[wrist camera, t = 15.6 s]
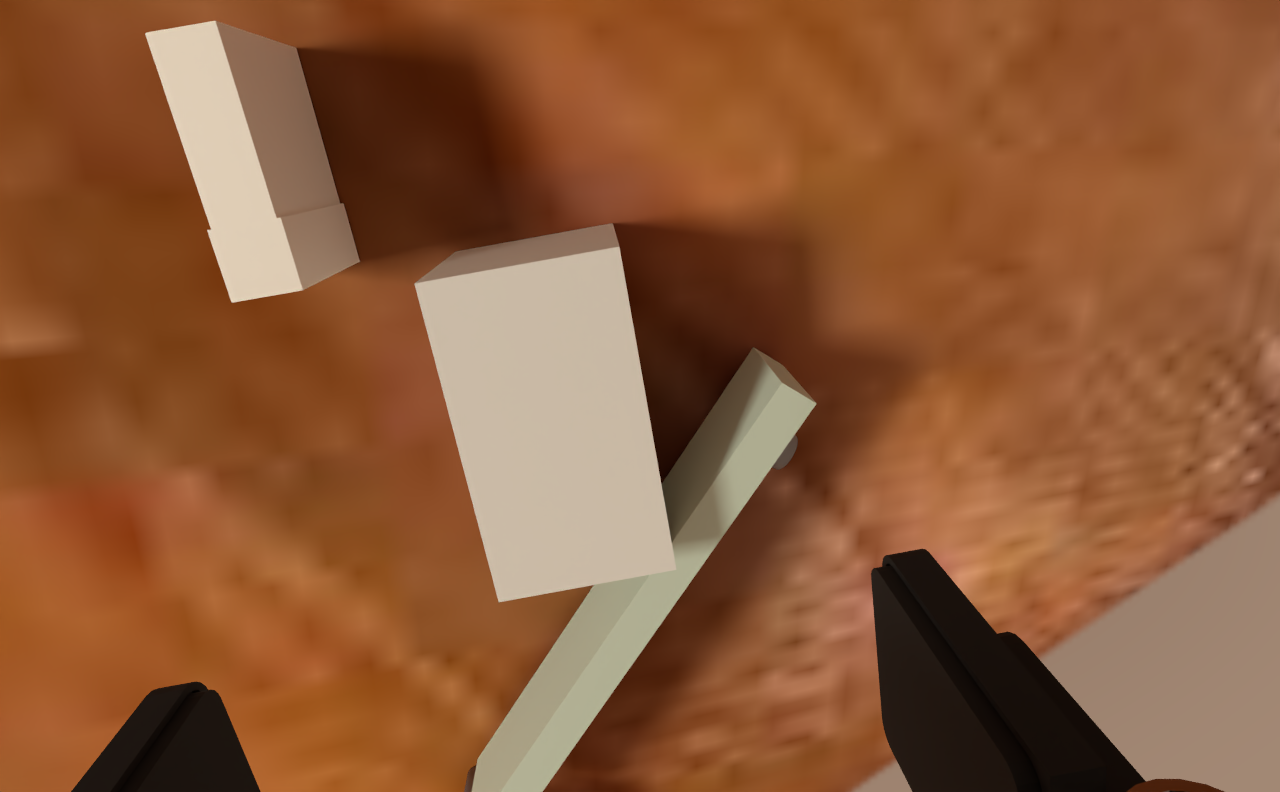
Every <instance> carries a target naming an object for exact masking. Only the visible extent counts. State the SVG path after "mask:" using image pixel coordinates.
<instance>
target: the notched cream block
mask: <svg viewBox="0 0 1280 792" xmlns="http://www.w3.org/2000/svg"><path fill="white" fill-rule="evenodd" d="M145 35H146V38H147V41H148V44H149V47H150V50H151V53H152V55H153V58H154V61H155V64H156V67H157V70H158V73H159V76H160V79H161V82H162V85H163V88H164V91H165V94H166V97H167V100H168V103H169V106H170V109H171V112H172V115H173V118H174V121H175V124H176V127H177V129H178V132H179V135H180V138H181V141H182V144H183V147H184V150H185V153H186V156H187V159H188V162H189V165H190V168H191V171H192V174H193V177H194V180H195V183H196V186H197V189H198V192H199V195H200V198H201V201H202V204H203V206H204V209H205V212H206V215H207V218H208V221H209V224H210V227H211V230H207V231H208V234H209V237H210V240H211V243H212V246H213V249H214V252H215V255H216V258H217V261H218V264H219V266H220V269H221V272H222V275H223V278H224V281H225V284H226V287H227V290H228V293H229V296H230V299H231V302H232V303H233V302H238V301H244V300H250V299H255V298H261V297H267V296H272V295H278V294H284V293H290V292H295V291H301V290H304V289H306V288H308V287H310V286H312V285H314V284H316V283H318V282H320V281H322V280H324V279H326V278H328V277H330V276H332V275H334V274H336V273H338V272H340V271H342V270H344V269H346V268H348V267H350V266H352V265H354V264H356V263H358V262H360V260H359V257H358V253H357V249H356V246H355V242H354V239H353V235H352V232H351V228H350V225H349V221H348V217H347V214H346V210H345V207H344V203H341V204H340V201H339V197H338V194H337V190H336V187H335V183H334V180H333V176H332V173H331V169H330V166H329V162H328V159H327V155H326V151H325V148H324V144H323V141H322V137H321V134H320V130H319V127H318V123H317V120H316V116H315V112H314V109H313V105H312V102H311V98H310V95H309V91H308V88H307V84H306V81H305V77H304V73H303V70H302V66H301V63H300V59H299V56H298V52H297V49H296V48H295V47H292V46H289V45H286V44H283V43H280V42H277V41H274V40H271V39H268V38H265V37H262V36H259V35H256V34H253V33H250V32H247V31H244V30H241V29H239V28H236V27H233V26H230V25H227V24H224V23H221V22H218V21H211V22H205V23H200V24H194V25H188V26H182V27H176V28H171V29H165V30H159V31H153V32H148V33H145Z"/></svg>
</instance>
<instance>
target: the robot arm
mask: <svg viewBox="0 0 1280 792" xmlns="http://www.w3.org/2000/svg"><path fill="white" fill-rule="evenodd" d="M871 579H872V592H873V605H874V618H875V631H876V644H877V657H878V670H879V683H880V696H881V709H882V720H883V726H884V730H885V734H886V737H887V740H888V743H889V745H890V748H891V750H892V752H893V754H894V756H895V758H896V760H897V762H898V764H899V766H900V768H901V769H902V772H903V774H904V775H905V778H906V780H907V781H908V784H909V785H910V788H911V789H912V792H1224V791H1221V790H1219V789H1216V788H1213V787H1211V786H1209V785H1206V784H1201V783H1196V782H1191V781H1186V780H1182V779H1155V780H1151V781H1147V782H1146V781H1145V780H1144V779H1143V778H1142V777H1141V776H1140V774H1139V773H1138V772H1137V771H1136V770H1135V769H1134V768H1133V766H1132V765H1131V764H1130V763H1129V762H1128V761H1127V759H1125V757H1124V756H1123V755H1122V754H1121V753H1120V751H1118V749H1117V748H1116V747H1115V746H1114V745H1113V743H1111V741H1110V740H1109V739H1108V738H1107V737H1106V736H1105V734H1104V733H1103V732H1102V731H1101V730H1100V729H1099V727H1098V726H1097V725H1096V724H1095V723H1094V722H1093V721H1092V719H1091V718H1090V717H1089V716H1088V715H1087V714H1086V713H1085V711H1084V710H1083V709H1082V708H1081V707H1080V706H1079V705H1078V703H1077V702H1076V701H1075V700H1074V699H1073V698H1072V697H1071V695H1070V694H1069V693H1068V692H1067V691H1066V690H1065V688H1064V687H1063V686H1062V685H1061V684H1060V683H1059V682H1058V681H1057V679H1056V678H1055V677H1054V676H1053V675H1052V674H1051V672H1050V671H1049V670H1048V669H1047V668H1046V667H1045V666H1044V664H1043V663H1042V662H1041V661H1040V660H1039V659H1038V658H1037V656H1036V655H1035V654H1034V653H1033V652H1032V651H1031V650H1030V648H1029V647H1028V646H1027V645H1026V644H1025V643H1024V642H1023V641H1022V640H1021V639H1020V638H1019V637H1018V636H1017V635H1016V634H1013V633H1010V632H1004V633H999V634H997V633H996V632H995V631H994V630H993V629H992V627H991V626H990V625H989V624H988V623H987V621H986V620H985V619H984V618H983V617H982V615H981V614H980V613H979V612H978V611H977V609H976V608H975V607H974V606H973V605H972V603H971V602H970V601H969V600H968V599H967V597H966V596H965V595H964V594H963V593H962V591H961V590H960V589H959V588H958V587H957V585H956V584H955V583H954V582H953V581H952V579H951V578H950V577H949V576H948V575H947V573H946V572H945V571H944V570H943V569H942V567H941V566H940V565H939V564H938V563H937V561H936V560H935V559H934V558H933V557H932V555H931V554H930V553H929V552H928V551H927V550H926V549H919V550H914V551H908V552H903V553H897V554H892V555H886V556H885V557H884V558H883V563H882V567H879V568H874V569H873V570H872V573H871ZM71 792H260V790H259V787H258V785H257V782H256V780H255V778H254V775H253V773H252V771H251V768H250V766H249V764H248V761H247V759H246V756H245V754H244V752H243V749H242V747H241V745H240V742H239V740H238V737H237V735H236V733H235V730H234V728H233V726H232V723H231V721H230V718H229V716H228V714H227V711H226V709H225V707H224V704H223V702H222V700H221V697H220V696H219V694H218V693H217V692H216V691H215V690H208V689H207V687H206V686H205V685H203V684H202V683H200V682H191V683H186V684H180V685H175V686H169V687H164V688H158V689H155V690H153V691H151V692H150V693H149V694H148V695H147V696H146V697H145V698H144V700H143V701H142V702H141V703H140V705H139V706H138V707H137V709H136V710H135V711H134V712H133V714H132V715H131V716H130V717H129V719H128V720H127V721H126V723H125V724H124V725H123V726H122V728H121V729H120V730H119V731H118V733H117V734H116V735H115V737H114V738H113V739H112V740H111V742H110V743H109V744H108V745H107V747H106V748H105V749H104V751H103V752H102V753H101V754H100V756H99V757H98V758H97V759H96V761H95V762H94V763H93V765H92V766H91V767H90V768H89V770H88V771H87V772H86V773H85V775H84V776H83V777H82V779H81V780H80V781H79V782H78V784H77V785H76V786H75V787H74V789H73V790H72V791H71Z"/></svg>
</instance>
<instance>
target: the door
mask: <svg viewBox="0 0 1280 792" xmlns="http://www.w3.org/2000/svg"><path fill="white" fill-rule="evenodd" d="M816 404H817V403H816V402H815V401H814V400H813V399H812V398H811V397H810V395H809V394H808V393H807V392H806V391H805V390H804V389H803V387H802V386H801V385H800V384H799V383H798V382H797V381H796V379H795V378H794V377H793V376H792V375H791V374H790V373H789V371H788V370H787V369H786V368H785V367H784V366H783V365H782V364H780V363H779V362H777V361H775V360H774V359H772V358H770V357H769V356H767V355H765V354H764V353H762V352H760V351H759V350H757V349H756V348H754V347H753V348H752V350H751V351H750V353H749V354H748V356H747V357H746V359H745V360H744V362H743V363H742V365H741V366H740V368H739V369H738V371H737V372H736V374H735V375H734V377H733V378H732V380H731V381H730V383H729V384H728V386H727V387H726V389H725V390H724V392H723V393H722V395H721V396H720V398H719V399H718V401H717V402H716V403H715V405H714V406H713V408H712V409H711V411H710V412H709V414H708V415H707V417H706V418H705V420H704V421H703V423H702V424H701V426H700V427H699V429H698V430H697V432H696V433H695V435H694V436H693V438H692V439H691V441H690V442H689V444H688V445H687V447H686V448H685V450H684V451H683V453H682V454H681V456H680V457H679V459H678V460H677V462H676V463H675V465H674V466H673V468H672V469H671V471H670V472H669V474H668V475H667V477H666V478H665V480H664V481H663V483H662V484H661V485H662V491H663V496H664V502H665V508H666V513H667V519H668V525H669V530H670V536H671V541H672V547H673V553H674V558H675V564H676V570H673V571H667V572H662V573H656V574H651V575H645V576H640V577H634V578H629V579H623V580H618V581H612V582H607V583H601V584H596V585H594V586H593V587H592V589H591V590H590V592H589V593H588V595H587V596H586V598H585V599H584V601H583V602H582V604H581V605H580V607H579V608H578V610H577V611H576V613H575V614H574V616H573V617H572V619H571V620H570V622H569V623H568V625H567V626H566V628H565V629H564V631H563V632H562V634H561V635H560V637H559V638H558V640H557V641H556V643H555V644H554V646H553V647H552V649H551V650H550V652H549V653H548V655H547V656H546V658H545V659H544V661H543V662H542V664H541V665H540V667H539V668H538V670H537V671H536V673H535V674H534V676H533V677H532V679H531V680H530V682H529V683H528V685H527V686H526V688H525V689H524V691H523V692H522V694H521V695H520V696H519V698H518V699H517V701H516V702H515V704H514V705H513V707H512V708H511V710H510V711H509V713H508V714H507V716H506V717H505V719H504V720H503V722H502V723H501V725H500V726H499V728H498V729H497V731H496V732H495V734H494V735H493V737H492V738H491V740H490V741H489V743H488V744H487V746H486V747H485V749H484V750H483V752H482V753H481V755H480V756H479V758H478V760H477V765H476V766H474V767H472V768H471V769H470V770H469V772H468V776H467V781H466V786H465V791H464V792H543V790H544V789H545V787H546V786H547V785H548V783H549V782H550V780H551V779H552V778H553V776H554V775H555V773H556V772H557V770H558V769H559V768H560V766H561V765H562V763H563V762H564V761H565V759H566V758H567V756H568V755H569V753H570V752H571V751H572V749H573V748H574V746H575V745H576V744H577V742H578V741H579V739H580V738H581V736H582V735H583V734H584V732H585V731H586V729H587V728H588V727H589V725H590V724H591V722H592V721H593V719H594V718H595V717H596V715H597V714H598V712H599V711H600V710H601V708H602V707H603V705H604V704H605V702H606V701H607V700H608V698H609V697H610V695H611V694H612V693H613V691H614V690H615V688H616V687H617V686H618V684H619V683H620V681H621V680H622V678H623V677H624V676H625V674H626V673H627V671H628V670H629V669H630V667H631V666H632V664H633V663H634V661H635V660H636V659H637V657H638V656H639V654H640V653H641V652H642V650H643V649H644V647H645V646H646V644H647V643H648V642H649V640H650V639H651V637H652V636H653V635H654V633H655V632H656V630H657V629H658V627H659V626H660V625H661V623H662V622H663V620H664V619H665V618H666V616H667V615H668V613H669V612H670V610H671V609H672V608H673V606H674V605H675V603H676V602H677V601H678V599H679V598H680V596H681V595H682V593H683V592H684V591H685V589H686V588H687V586H688V585H689V584H690V582H691V581H692V579H693V578H694V576H695V575H696V574H697V572H698V571H699V569H700V568H701V567H702V565H703V564H704V562H705V561H706V560H707V558H708V557H709V555H710V554H711V552H712V551H713V550H714V548H715V547H716V545H717V544H718V543H719V541H720V540H721V538H722V537H723V535H724V534H725V533H726V531H727V530H728V528H729V527H730V526H731V524H732V523H733V521H734V520H735V518H736V517H737V516H738V514H739V513H740V511H741V510H742V509H743V507H744V506H745V504H746V503H747V501H748V500H749V499H750V497H751V496H752V494H753V493H754V492H755V490H756V489H757V487H758V486H759V484H760V483H761V482H762V480H763V479H764V477H765V476H766V475H767V473H768V472H769V470H770V469H771V467H773V468H775V469H777V470H779V469H782V468H783V467H784V466H786V465H787V464H788V462H789V461H790V460H791V458H792V457H793V455H794V453H795V451H796V448H797V444H798V439H797V437H796V436H795V433H796V432H797V431H798V429H799V428H800V426H801V425H802V424H803V422H804V421H805V419H806V418H807V417H808V415H809V414H810V412H811V411H812V409H813V408H814V407H815V405H816Z"/></svg>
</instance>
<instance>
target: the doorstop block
mask: <svg viewBox="0 0 1280 792" xmlns="http://www.w3.org/2000/svg"><path fill="white" fill-rule="evenodd" d="M414 284H415V287H416V291H417V295H418V299H419V302H420V306H421V310H422V314H423V318H424V321H425V325H426V329H427V333H428V336H429V340H430V344H431V348H432V352H433V355H434V359H435V363H436V367H437V370H438V374H439V378H440V382H441V386H442V389H443V393H444V397H445V401H446V404H447V408H448V412H449V416H450V420H451V423H452V427H453V431H454V435H455V438H456V442H457V446H458V450H459V454H460V457H461V461H462V465H463V469H464V472H465V476H466V480H467V484H468V488H469V491H470V495H471V499H472V503H473V506H474V510H475V514H476V518H477V522H478V525H479V529H480V533H481V537H482V540H483V544H484V548H485V552H486V556H487V559H488V563H489V567H490V571H491V574H492V578H493V582H494V586H495V590H496V593H497V597H498V601H499V602H503V601H508V600H514V599H519V598H524V597H530V596H535V595H541V594H546V593H552V592H557V591H563V590H568V589H574V588H579V587H585V586H590V585H596V584H601V583H607V582H612V581H618V580H623V579H629V578H634V577H640V576H645V575H651V574H656V573H662V572H667V571H673V570H676V564H675V558H674V553H673V547H672V541H671V536H670V530H669V525H668V519H667V513H666V508H665V502H664V496H663V491H662V485H661V479H660V474H659V468H658V462H657V457H656V451H655V445H654V440H653V434H652V428H651V423H650V417H649V411H648V406H647V400H646V394H645V389H644V383H643V377H642V372H641V366H640V360H639V355H638V349H637V344H636V338H635V332H634V327H633V321H632V315H631V310H630V304H629V298H628V293H627V287H626V281H625V276H624V270H623V264H622V259H621V253H620V247H619V244H618V240H617V236H616V233H615V229H614V226H613V223H611V224H606V225H600V226H595V227H589V228H583V229H578V230H572V231H567V232H561V233H556V234H550V235H545V236H539V237H533V238H528V239H522V240H517V241H511V242H506V243H500V244H494V245H489V246H483V247H478V248H472V249H467V250H461V251H456V252H454V253H453V254H452V255H450V256H449V257H448V258H447V259H445V260H444V261H443V262H441V263H440V264H439V265H438V266H436V267H435V268H434V269H432V270H431V271H430V272H429V273H427V274H426V275H425V276H423V277H422V278H421V279H420V280H418V281H417V282H416V283H414Z"/></svg>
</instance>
